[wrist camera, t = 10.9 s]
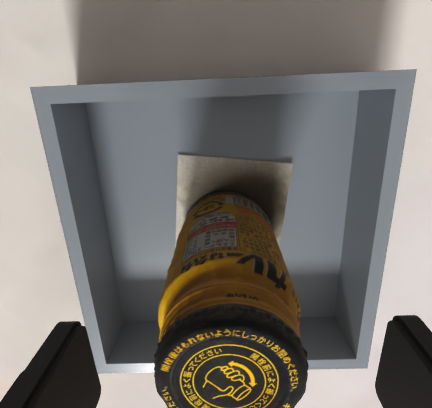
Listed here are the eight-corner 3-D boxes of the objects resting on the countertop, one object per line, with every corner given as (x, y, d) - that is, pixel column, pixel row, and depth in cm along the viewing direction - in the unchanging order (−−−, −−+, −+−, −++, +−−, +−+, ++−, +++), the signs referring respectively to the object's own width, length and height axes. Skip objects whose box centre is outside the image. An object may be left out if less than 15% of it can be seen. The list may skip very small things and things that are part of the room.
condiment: (174, 268, 22) (127, 448, 11) (178, 154, 19) (118, 236, 8) (274, 275, 22) (328, 461, 11) (292, 162, 19) (389, 255, 8)
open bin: (77, 89, 19) (29, 87, 14) (367, 75, 19) (416, 69, 14) (119, 321, 25) (96, 373, 20) (339, 316, 25) (367, 368, 20)
